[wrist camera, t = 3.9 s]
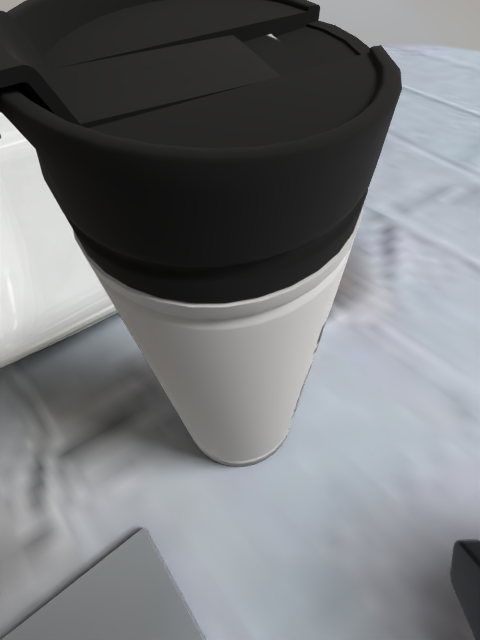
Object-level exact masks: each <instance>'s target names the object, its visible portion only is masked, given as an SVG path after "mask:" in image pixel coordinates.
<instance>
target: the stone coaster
mask: <svg viewBox="0 0 480 640" xmlns="http://www.w3.org/2000/svg"><path fill="white" fill-rule="evenodd" d="M1 640H206V639H205V637H204V635H203V633H202V631H201V629H200V628H199V626H198V624H197V622H196V620H195V618H194V616H193V615H192V613H191V611H190V609H189V607H188V605H187V603H186V602H185V600H184V598H183V596H182V594H181V592H180V590H179V589H178V587H177V585H176V583H175V581H174V579H173V577H172V576H171V574H170V572H169V570H168V568H167V566H166V564H165V563H164V561H163V559H162V557H161V555H160V553H159V551H158V550H157V548H156V546H155V544H154V542H153V540H152V538H151V537H150V535H149V533H148V531H147V529H146V528H142V529H141V530H139V531H138V532H137V533H136V534H134V535H133V536H132V537H131V538H129V539H128V540H127V541H126V542H124V543H123V544H122V545H120V546H119V547H118V548H117V549H115V550H114V551H113V552H112V553H110V554H109V555H108V556H107V557H105V558H104V559H103V560H101V561H100V562H99V563H98V564H96V565H95V566H94V567H93V568H91V569H90V570H89V571H88V572H86V573H85V574H84V575H82V576H81V577H80V578H79V579H77V580H76V581H75V582H74V583H72V584H71V585H70V586H69V587H67V588H66V589H65V590H63V591H62V592H61V593H60V594H58V595H57V596H56V597H55V598H53V599H52V600H51V601H50V602H48V603H47V604H46V605H44V606H43V607H42V608H41V609H39V610H38V611H37V612H36V613H34V614H33V615H32V616H31V617H29V618H28V619H27V620H25V621H24V622H23V623H22V624H20V625H19V626H18V627H17V628H15V629H14V630H13V631H12V632H10V633H9V634H8V635H6V636H5V637H4V638H3V639H1Z"/></svg>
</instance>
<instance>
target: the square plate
mask: <svg viewBox="0 0 480 640" xmlns="http://www.w3.org/2000/svg"><path fill="white" fill-rule="evenodd" d="M0 135H1V139H0V368H2V367H5V366H7V365H9V364H11V363H14V362H16V361H18V360H20V359H22V358H24V357H26V356H28V355H30V354H32V353H34V352H37V351H39V350H41V349H44V348H46V347H48V346H50V345H52V344H54V343H56V342H58V341H61V340H63V339H65V338H67V337H69V336H71V335H74V334H76V333H78V332H80V331H82V330H84V329H86V328H88V327H90V326H92V325H94V324H96V323H98V322H100V321H102V320H104V319H106V318H108V317H110V316H112V315H114V314H116V313H118V311H117V310H116V308H115V306H114V305H113V303H112V301H111V300H110V298H109V296H108V295H107V293H106V291H105V290H104V288H103V286H102V284H101V283H100V281H99V279H98V277H97V276H96V274H95V272H94V270H93V269H92V268H91V266H90V264H89V262H88V261H87V259H86V257H85V256H84V254H83V252H82V250H81V249H80V247H79V245H78V243H77V241H76V240H75V237H74V233H73V229H72V227H71V225H70V224H69V222H68V220H67V218H66V217H65V215H64V213H63V212H62V210H61V208H60V206H59V205H58V203H57V201H56V199H55V198H54V196H53V194H52V192H51V191H50V189H49V187H48V185H47V184H46V182H45V180H44V178H43V175H42V172H41V168H40V164H39V160H38V156H37V152H36V149H35V148H34V147H33V146H32V145H31V144H30V143H29V141H28V140H27V139H26V138H25V137H24V136H23V135H22V134H21V133H20V132H19V131H18V130H17V129H16V128H15V126H14V125H13V124H12V123H11V122H10V121H9V120H8V119H7V118H6V117H5V116H4V115H3V114H2V113H1V112H0Z"/></svg>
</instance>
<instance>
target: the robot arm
mask: <svg viewBox="0 0 480 640" xmlns="http://www.w3.org/2000/svg"><path fill="white" fill-rule="evenodd" d="M450 575H451V582H452V585H453V588H454V590H455V593H456V595H457V597H458V600H459V602H460V605H461V607H462V609H463V612H464V614H465V616H466V619H467V621H468V623H469V626H470V628H471V630H472V633H473V635H474V637H475V640H480V541H479V540H476V539H466V540H457V541H456V542H455V543H454V547H453V555H452V563H451V571H450Z"/></svg>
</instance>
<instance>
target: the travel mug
mask: <svg viewBox="0 0 480 640" xmlns="http://www.w3.org/2000/svg"><path fill="white" fill-rule="evenodd" d="M319 11H320V6H319V5H317V4H315V3H312V2H309V1H307V0H27V1H24V2H23V3H21V4H19V5H18V6H16V7H14V8H13V9H11V10H10V11H8V12H4V11H0V112H1V113H2V114H3V115H4V116H5V117H6V118H7V119H8V120H9V121H10V122H11V123H12V124H13V125H14V126H15V128H16V129H17V130H18V131H19V132H20V133H21V134H22V135H23V136H24V137H25V138H26V139H27V140H28V141H29V143H30V144H31V145H32V146H33V147H34V148H35V149H36V152H37V156H38V160H39V164H40V168H41V172H42V175H43V178H44V180H45V182H46V184H47V185H48V187H49V189H50V191H51V192H52V194H53V196H54V198H55V199H56V201H57V203H58V205H59V206H60V208H61V210H62V212H63V213H64V215H65V217H66V218H67V220H68V222H69V224H70V225H71V227H72V229H73V233H74V237H75V240H76V241H77V243H78V245H79V247H80V249H81V250H82V252H83V254H84V256H85V257H86V259H87V261H88V262H89V264H90V266H91V268H92V269H93V270H94V272H95V274H96V276H97V277H98V279H99V281H100V283H101V284H102V286H103V288H104V290H105V291H106V293H107V295H108V296H109V298H110V300H111V301H112V303H113V305H114V306H115V308H116V310H117V311H118V313H119V315H120V317H121V318H122V320H123V322H124V323H125V325H126V327H127V328H128V330H129V332H130V333H131V335H132V337H133V339H134V340H135V342H136V344H137V345H138V347H139V349H140V350H141V352H142V354H143V355H144V357H145V359H146V361H147V362H148V364H149V366H150V367H151V369H152V371H153V372H154V374H155V376H156V377H157V379H158V381H159V383H160V384H161V386H162V388H163V389H164V391H165V393H166V394H167V396H168V398H169V399H170V401H171V403H172V404H173V406H174V408H175V410H176V411H177V413H178V415H179V416H180V418H181V420H182V421H183V423H184V425H185V426H186V428H187V430H188V432H189V433H190V435H191V437H192V438H193V440H194V442H195V443H196V445H197V446H198V447H199V448H200V450H201V451H202V452H203V453H204V454H205V455H207V456H208V457H210V458H211V459H212V460H214V461H217V462H219V463H221V464H224V465H229V466H243V467H244V466H249V465H254V464H257V463H259V462H261V461H264V460H266V459H267V458H268V457H270V456H271V455H273V454H274V453H275V452H276V451H277V450H278V449H279V448H280V446H281V445H282V444H283V442H284V440H285V439H286V437H287V434H288V432H289V429H290V426H291V423H292V420H293V417H294V414H295V411H296V408H297V406H298V403H299V400H300V397H301V394H302V391H303V388H304V385H305V382H306V379H307V376H308V373H309V371H310V368H311V365H312V362H313V359H314V356H315V353H316V350H317V347H318V344H319V341H320V338H321V335H322V333H323V330H324V327H325V324H326V321H327V318H328V315H329V312H330V309H331V306H332V303H333V300H334V298H335V295H336V292H337V289H338V286H339V283H340V280H341V277H342V274H343V271H344V268H345V265H346V263H347V260H348V257H349V254H350V251H351V248H352V245H353V241H354V239H355V236H356V233H357V230H358V227H359V225H360V222H361V219H362V216H363V207H364V201H365V198H366V195H367V192H368V187H369V184H370V182H371V179H372V176H373V173H374V171H375V168H376V165H377V162H378V159H379V156H380V153H381V150H382V147H383V144H384V141H385V138H386V135H387V132H388V129H389V126H390V123H391V120H392V117H393V114H394V110H395V107H396V104H397V102H398V99H399V96H400V93H401V90H402V84H401V72H400V69H399V68H398V66H397V65H396V64H395V62H394V61H393V60H392V59H391V57H390V56H389V55H388V54H387V52H386V51H385V50H384V48H383V47H382V46H381V45H380V46H373V47H371V48H369V47H368V46H367V45H365V44H364V43H363V42H362V41H360V40H359V39H358V38H357V37H355V36H353V35H351V34H349V33H348V32H346V31H344V30H342V29H341V28H339V27H337V26H335V25H332V24H328V23H325V22H321V21H318V19H319ZM0 139H1V135H0Z"/></svg>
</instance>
